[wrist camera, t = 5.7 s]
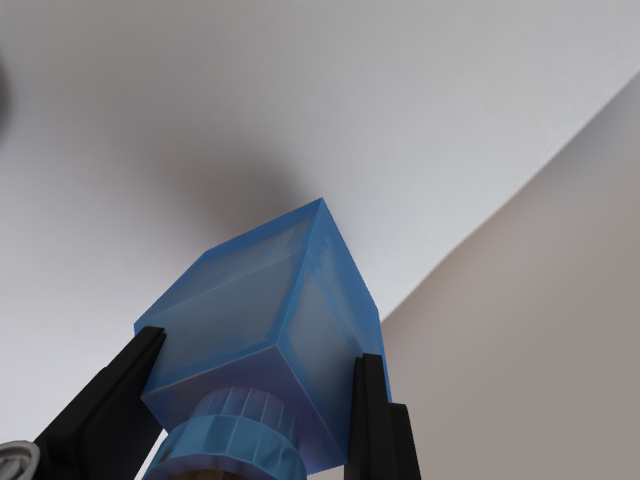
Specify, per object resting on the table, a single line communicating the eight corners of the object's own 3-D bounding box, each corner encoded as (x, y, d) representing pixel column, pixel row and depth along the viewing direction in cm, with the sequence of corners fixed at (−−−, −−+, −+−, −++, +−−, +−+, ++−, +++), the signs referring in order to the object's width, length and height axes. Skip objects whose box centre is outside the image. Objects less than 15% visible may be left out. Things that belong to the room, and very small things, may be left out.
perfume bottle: (267, 351, 19) (152, 704, 8) (205, 251, 17) (-59, 517, 6) (377, 310, 18) (431, 660, 6) (322, 197, 16) (264, 405, 5)
